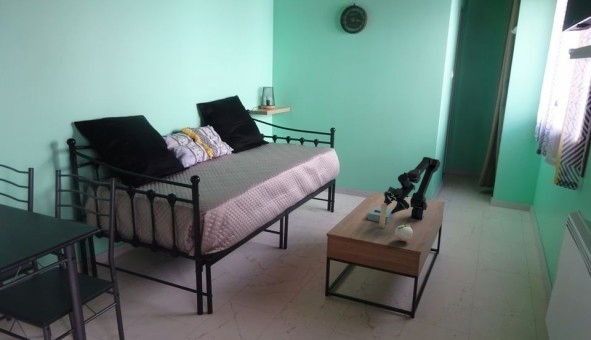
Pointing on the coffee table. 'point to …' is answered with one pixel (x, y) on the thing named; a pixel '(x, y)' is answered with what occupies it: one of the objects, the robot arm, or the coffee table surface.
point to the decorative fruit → (404, 232)
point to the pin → (383, 215)
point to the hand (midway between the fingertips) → (386, 210)
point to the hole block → (375, 214)
